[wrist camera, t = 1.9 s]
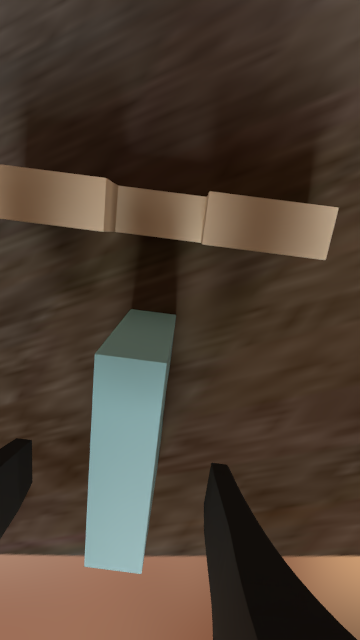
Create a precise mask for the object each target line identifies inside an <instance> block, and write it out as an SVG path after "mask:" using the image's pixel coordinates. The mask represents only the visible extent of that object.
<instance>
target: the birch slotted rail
mask: <svg viewBox="0 0 360 640" xmlns="http://www.w3.org/2000/svg"><path fill="white" fill-rule="evenodd" d="M338 209H339V208H337V207H329V206H322V205H314V204H306V203H298V202H290V201H282V200H275V199H267V198H259V197H251V196H243V195H235V194H228V193H220V192H212V191H209V193H208V196H207V197H204V196H196V195H188V194H180V193H172V192H164V191H157V190H149V189H141V188H133V187H125V186H118V185H116V184H115V183H113V182H112V181H110V180H109V179H107V178H102V177H94V176H87V175H79V174H71V173H63V172H55V171H47V170H40V169H32V168H24V167H16V166H8V165H0V219H8V220H16V221H23V222H31V223H39V224H47V225H55V226H63V227H70V228H78V229H86V230H94V231H102V232H121V233H128V234H136V235H144V236H152V237H160V238H168V239H175V240H183V241H191V242H199V243H201V244H203V245H211V246H219V247H227V248H234V249H242V250H250V251H258V252H266V253H273V254H281V255H289V256H297V257H305V258H313V259H320V260H326V257H327V253H328V249H329V245H330V241H331V237H332V233H333V229H334V225H335V221H336V217H337V213H338Z"/></svg>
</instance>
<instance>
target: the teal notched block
mask: <svg viewBox="0 0 360 640" xmlns="http://www.w3.org/2000/svg"><path fill="white" fill-rule="evenodd" d="M175 320H176V315H174V314H166V313H158V312H150V311H142V310H135V309H130V311H129V312H128V313H127V314H126V316H125V317H124V318H123V319H122V321H121V322H120V323H119V324H118V326H117V327H116V328H115V329H114V331H113V332H112V333H111V335H110V336H109V337H108V338H107V340H106V341H105V342H104V343H103V345H102V346H101V347H100V348H99V350H98V351H97V352H96V353H95V362H94V383H93V403H92V423H91V443H90V463H89V483H88V503H87V523H86V544H85V565H84V566H85V567H92V568H100V569H107V570H115V571H123V572H130V573H138V574H141V573H142V566H143V560H144V553H145V546H146V540H147V533H148V526H149V519H150V513H151V506H152V499H153V492H154V486H155V479H156V472H157V465H158V457H159V449H160V441H161V433H162V425H163V421H162V420H163V412H164V404H165V396H166V388H167V381H168V375H169V368H170V360H171V352H172V344H173V336H174V328H175Z"/></svg>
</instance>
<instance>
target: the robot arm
mask: <svg viewBox="0 0 360 640" xmlns="http://www.w3.org/2000/svg"><path fill="white" fill-rule="evenodd" d="M31 484H32V440H26V439H18V438H16V439H15V440H13V441H12V442H10V443H8V444H7V445H5V446H4V447H2V448H1V449H0V538H1V537H2V535H3V534H4V532H5V531H6V529H7V527H8V526H9V524H10V523H11V521H12V520H13V518H14V516H15V515H16V513H17V512H18V510H19V508H20V506H21V504H22V502H23V500H24V498H25V496H26V494H27V492H28V490H29V488H30V486H31ZM204 535H205V545H206V555H207V565H208V574H209V584H210V593H211V604H212V620H213V640H357V639H356V638H355V637H354V636H353V635H352V634H351V633H350V632H348V631H347V630H346V629H345V628H344V627H343V626H342V625H341V624H340V623H339V622H338V621H337V620H336V619H335V618H334V617H333V616H332V615H331V614H330V613H329V612H328V611H327V610H326V608H325V607H324V606H323V605H322V604H321V603H320V602H319V601H318V600H317V599H316V598H315V597H314V596H313V594H312V593H311V592H310V591H309V590H308V589H307V587H306V586H305V585H304V584H303V583H302V582H301V581H300V579H299V578H298V577H297V576H296V575H295V573H294V572H293V571H292V570H291V568H290V567H289V566H288V565H287V563H286V562H285V561H284V559H283V558H282V557H281V555H280V554H279V553H278V551H277V550H276V549H275V547H274V546H273V544H272V543H271V541H270V540H269V538H268V537H267V535H266V534H265V532H264V531H263V529H262V528H261V526H260V525H259V523H258V521H257V520H256V518H255V516H254V515H253V513H252V511H251V510H250V508H249V506H248V504H247V503H246V501H245V499H244V497H243V495H242V494H241V492H240V490H239V488H238V486H237V484H236V482H235V480H234V478H233V476H232V473H231V471H230V469H229V467H228V466H227V465H225V464H217V463H211V468H210V474H209V479H208V485H207V490H206V496H205V501H204Z"/></svg>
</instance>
